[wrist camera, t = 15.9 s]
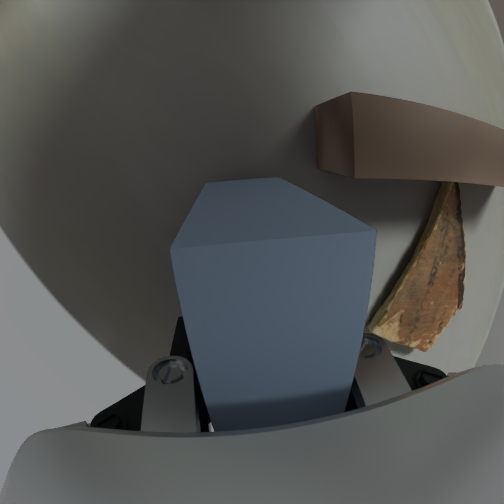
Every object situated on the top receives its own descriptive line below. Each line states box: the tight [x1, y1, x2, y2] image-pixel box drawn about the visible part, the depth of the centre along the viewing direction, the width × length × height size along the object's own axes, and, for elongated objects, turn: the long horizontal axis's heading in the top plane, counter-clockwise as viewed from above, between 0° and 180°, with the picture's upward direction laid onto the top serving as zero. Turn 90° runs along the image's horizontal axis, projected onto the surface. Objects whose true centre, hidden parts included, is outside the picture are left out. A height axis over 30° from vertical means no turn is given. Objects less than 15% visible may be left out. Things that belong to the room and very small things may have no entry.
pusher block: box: [170, 177, 377, 432], centre depth 9 cm, size 3×10×8 cm, turn 4°
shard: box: [367, 181, 466, 352], centre depth 15 cm, size 11×8×2 cm
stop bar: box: [315, 92, 504, 187], centre depth 10 cm, size 3×15×4 cm, turn 94°
